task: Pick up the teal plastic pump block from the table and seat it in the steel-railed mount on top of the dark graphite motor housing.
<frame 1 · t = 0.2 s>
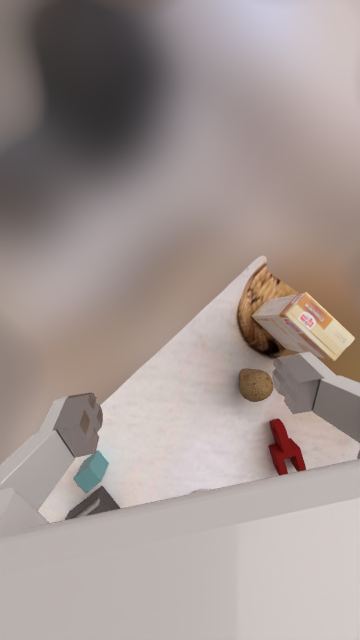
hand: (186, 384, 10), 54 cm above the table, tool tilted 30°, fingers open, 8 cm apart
coffeecake box: (275, 324, 65), on the table
pump block: (96, 462, 63), on the table
mechanical linkage: (278, 441, 66), on the table
natural sponge: (247, 379, 65), on the table
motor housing: (95, 510, 63), on the table
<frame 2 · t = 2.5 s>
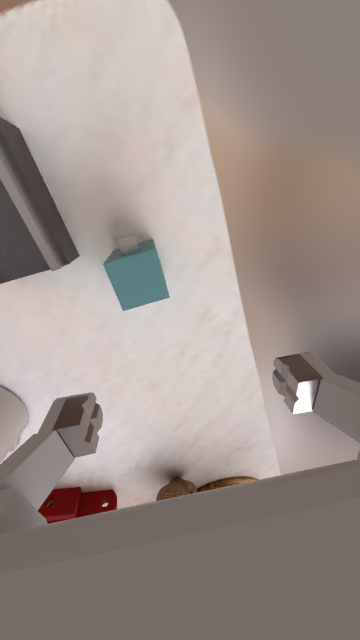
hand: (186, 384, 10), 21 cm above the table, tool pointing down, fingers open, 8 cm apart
pump block: (140, 264, 27), on the table
mechanical linkage: (82, 493, 50), on the table
natural sponge: (173, 477, 51), on the table
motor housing: (12, 212, 23), on the table
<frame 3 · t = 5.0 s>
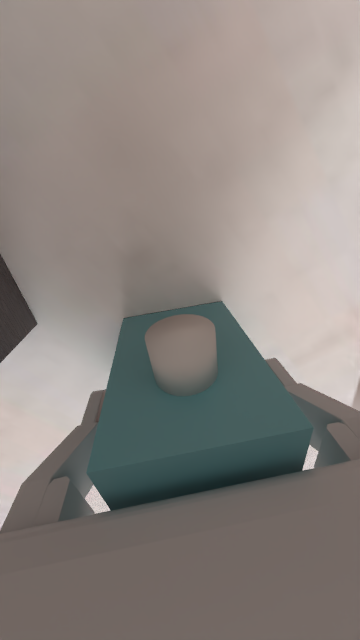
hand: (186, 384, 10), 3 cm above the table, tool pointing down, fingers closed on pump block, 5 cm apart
pump block: (179, 349, 12), on the table, touching gripper
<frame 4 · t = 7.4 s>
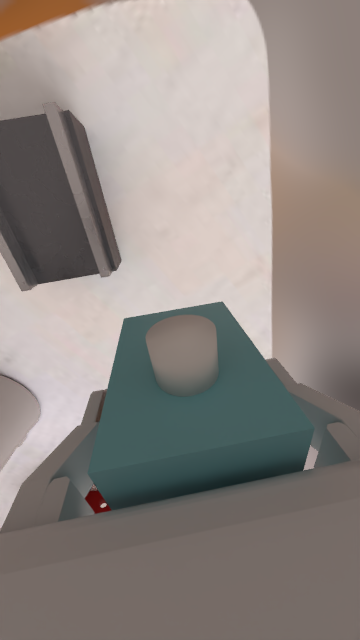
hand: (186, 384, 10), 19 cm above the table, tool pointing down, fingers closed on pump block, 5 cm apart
pump block: (180, 349, 12), point 16 cm above the table, touching gripper
mechanical linkage: (80, 492, 49), on the table
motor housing: (61, 210, 22), on the table
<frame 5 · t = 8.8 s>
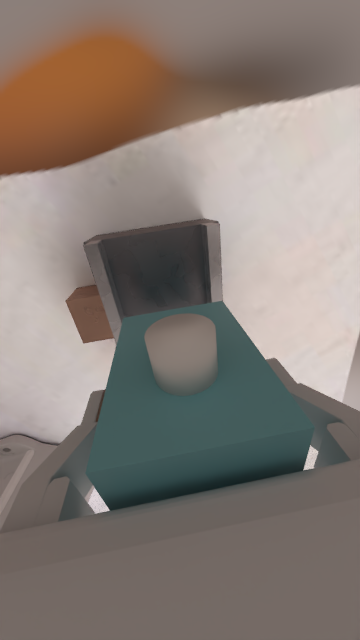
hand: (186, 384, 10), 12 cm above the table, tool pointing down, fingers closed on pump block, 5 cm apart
pump block: (179, 349, 12), point 10 cm above the table, touching gripper
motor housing: (163, 294, 21), on the table
when the fingers open (8 cm above the table, at t = 10.0 s): pump block drops 1 cm, resting on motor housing.
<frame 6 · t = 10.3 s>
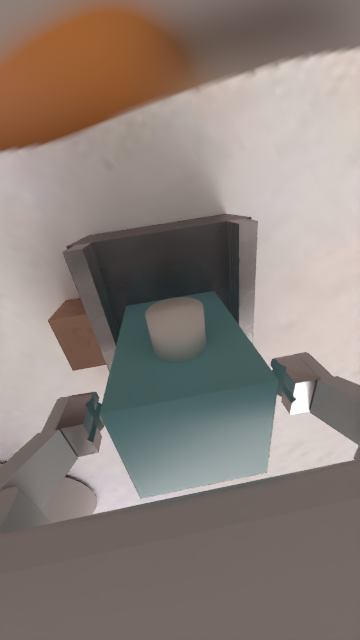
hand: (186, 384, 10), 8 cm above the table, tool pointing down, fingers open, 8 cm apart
pump block: (176, 335, 13), point 4 cm above the table, touching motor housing
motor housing: (172, 307, 17), on the table
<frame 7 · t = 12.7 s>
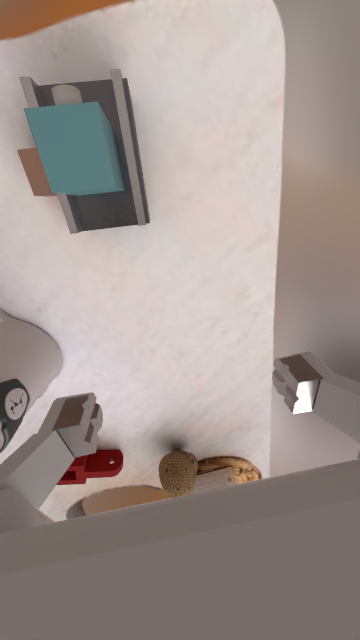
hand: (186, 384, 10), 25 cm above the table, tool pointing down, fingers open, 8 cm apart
coffeecake box: (208, 477, 63), on the table
pump block: (95, 164, 22), point 4 cm above the table, touching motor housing
mechanical linkage: (90, 451, 52), on the table
natural sponge: (175, 448, 55), on the table
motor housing: (103, 169, 26), on the table
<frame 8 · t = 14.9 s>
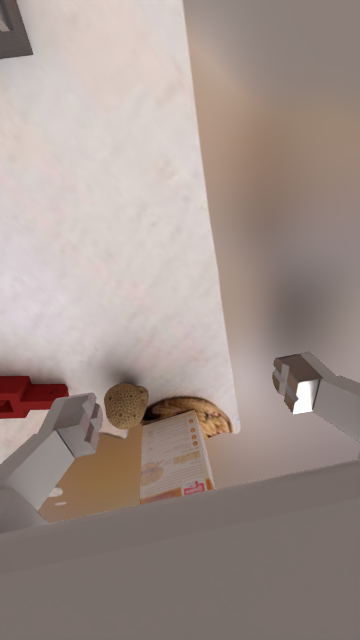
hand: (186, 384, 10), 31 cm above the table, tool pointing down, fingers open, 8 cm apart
coffeecake box: (172, 424, 59), on the table
mechanical linkage: (33, 386, 48), on the table
natural sponge: (127, 385, 51), on the table
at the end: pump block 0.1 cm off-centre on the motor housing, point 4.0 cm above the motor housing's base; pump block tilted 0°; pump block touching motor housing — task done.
